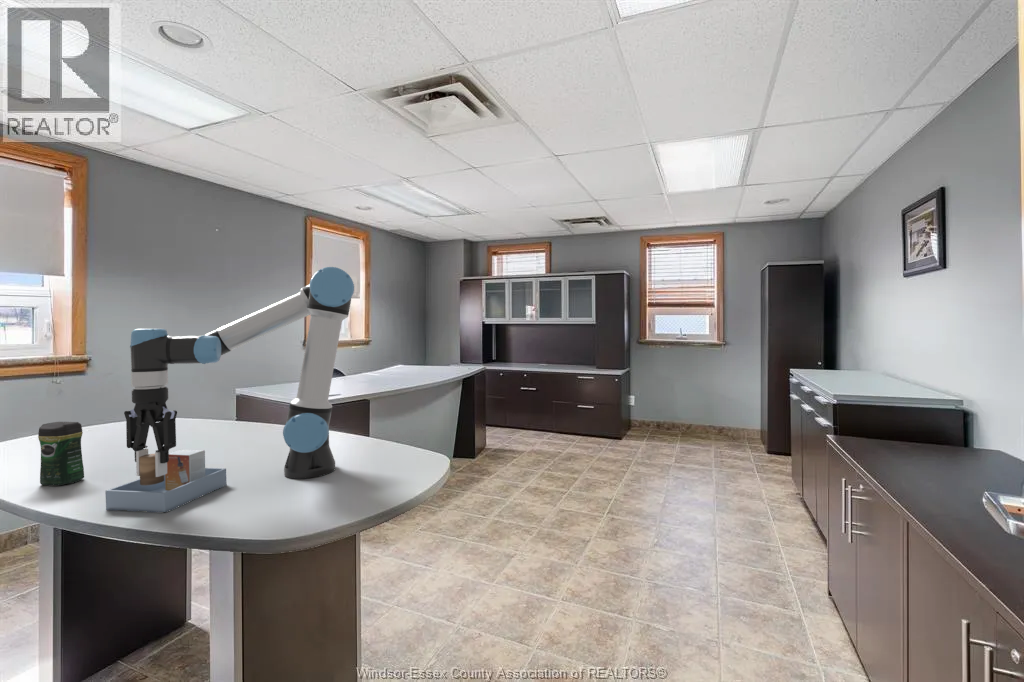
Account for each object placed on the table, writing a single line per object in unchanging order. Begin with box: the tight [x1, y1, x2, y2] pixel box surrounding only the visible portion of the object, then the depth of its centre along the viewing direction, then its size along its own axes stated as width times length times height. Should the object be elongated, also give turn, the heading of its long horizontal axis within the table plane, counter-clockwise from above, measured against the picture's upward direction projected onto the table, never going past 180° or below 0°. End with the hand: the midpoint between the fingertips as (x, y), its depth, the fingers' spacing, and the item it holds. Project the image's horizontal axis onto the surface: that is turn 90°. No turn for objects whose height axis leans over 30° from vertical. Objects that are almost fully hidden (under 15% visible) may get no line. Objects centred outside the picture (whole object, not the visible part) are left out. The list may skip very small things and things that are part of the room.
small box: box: [165, 448, 206, 490], centre depth 130 cm, size 8×6×10 cm
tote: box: [104, 467, 228, 513], centre depth 125 cm, size 17×20×5 cm
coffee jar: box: [37, 421, 85, 487], centre depth 137 cm, size 10×8×19 cm
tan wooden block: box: [139, 453, 164, 485], centre depth 120 cm, size 5×5×7 cm
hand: (152, 474), depth 120 cm, fingers closed on tan wooden block, 5 cm apart
